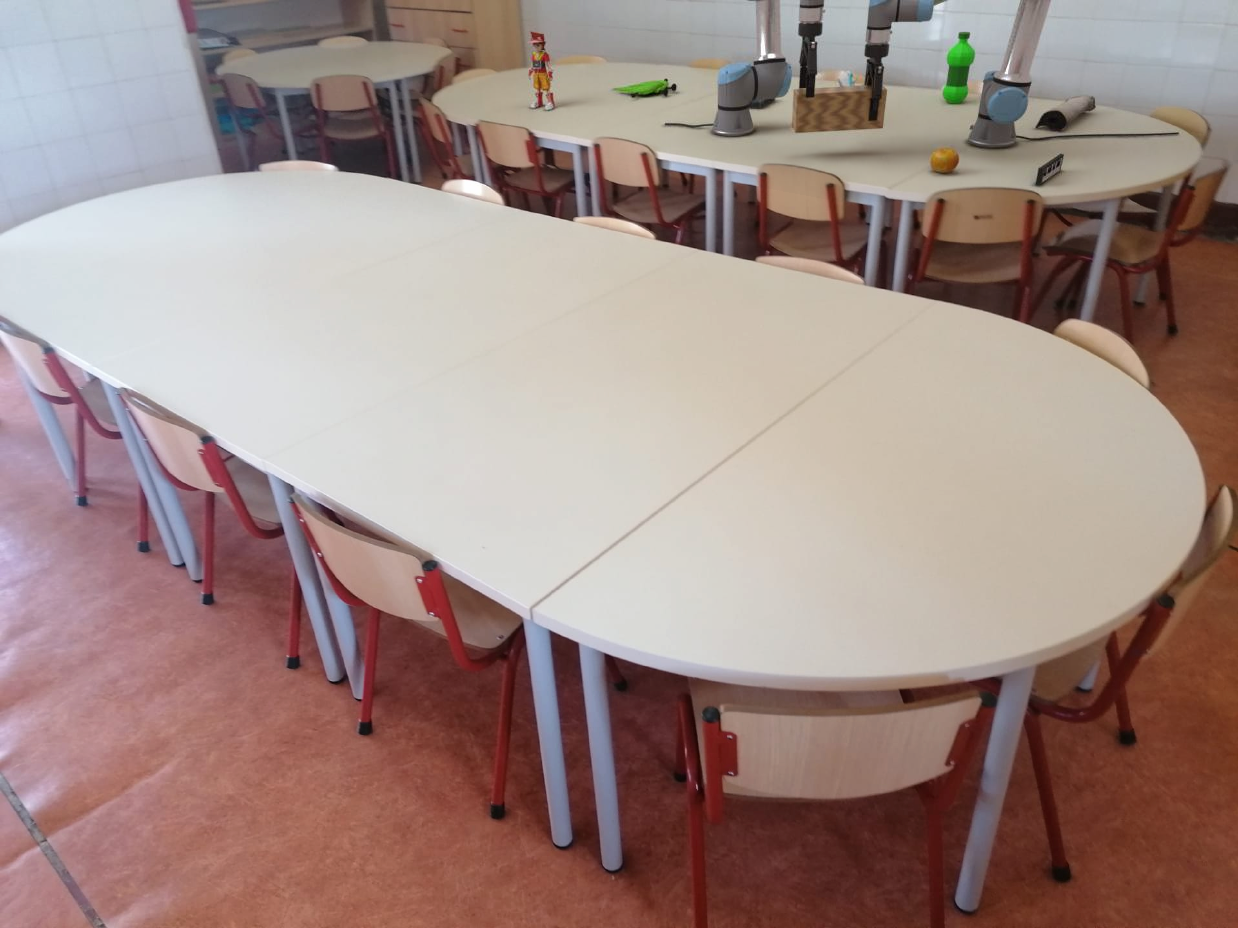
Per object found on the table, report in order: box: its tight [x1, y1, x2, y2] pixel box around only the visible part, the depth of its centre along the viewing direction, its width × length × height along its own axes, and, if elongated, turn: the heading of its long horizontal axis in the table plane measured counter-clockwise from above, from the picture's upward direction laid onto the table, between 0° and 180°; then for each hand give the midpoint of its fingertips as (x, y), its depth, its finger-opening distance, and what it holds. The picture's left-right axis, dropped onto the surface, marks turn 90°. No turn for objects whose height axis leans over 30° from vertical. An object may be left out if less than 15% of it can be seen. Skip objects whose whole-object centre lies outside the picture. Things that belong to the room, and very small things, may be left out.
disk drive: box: [749, 98, 776, 109], centre depth 368 cm, size 10×3×15 cm
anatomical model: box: [837, 70, 864, 87], centre depth 370 cm, size 15×10×10 cm
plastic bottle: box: [942, 31, 976, 104], centre depth 348 cm, size 10×10×25 cm
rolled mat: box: [1035, 94, 1097, 132], centre depth 323 cm, size 30×9×10 cm
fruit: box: [929, 147, 960, 174], centre depth 283 cm, size 8×8×8 cm
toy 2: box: [612, 78, 677, 99], centre depth 396 cm, size 28×5×30 cm
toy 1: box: [527, 31, 556, 111], centre depth 374 cm, size 12×9×30 cm
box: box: [791, 84, 888, 134], centre depth 298 cm, size 29×8×12 cm, turn 89°
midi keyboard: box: [1035, 153, 1065, 186], centre depth 273 cm, size 18×1×5 cm, turn 138°
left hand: (806, 93), depth 295 cm, fingers open, 13 cm apart
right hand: (869, 117), depth 299 cm, fingers closed on box, 8 cm apart
